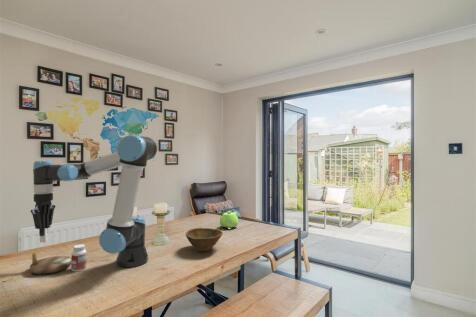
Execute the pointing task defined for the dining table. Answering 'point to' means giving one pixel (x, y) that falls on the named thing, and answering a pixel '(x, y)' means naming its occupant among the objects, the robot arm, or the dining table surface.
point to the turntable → (49, 264)
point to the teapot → (229, 219)
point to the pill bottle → (78, 258)
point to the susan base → (52, 272)
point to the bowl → (203, 238)
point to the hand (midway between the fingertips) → (43, 241)
